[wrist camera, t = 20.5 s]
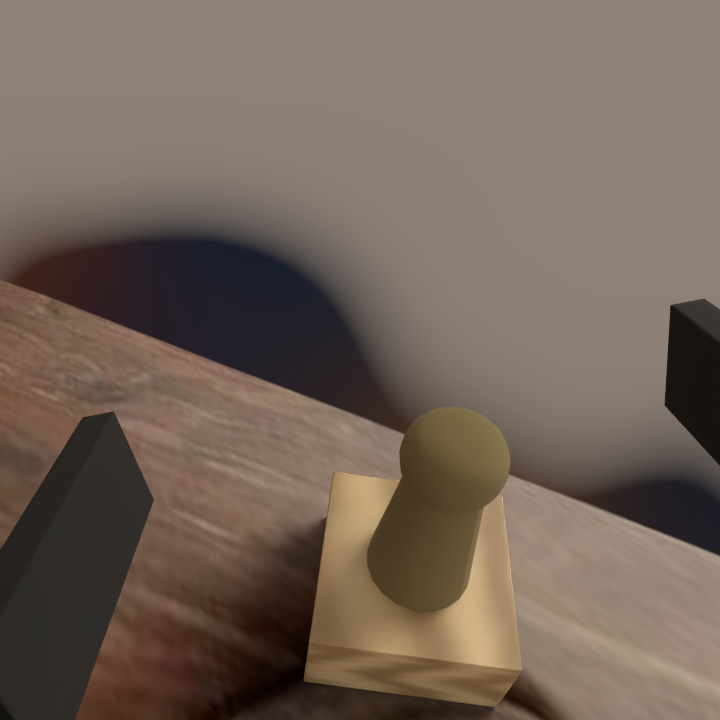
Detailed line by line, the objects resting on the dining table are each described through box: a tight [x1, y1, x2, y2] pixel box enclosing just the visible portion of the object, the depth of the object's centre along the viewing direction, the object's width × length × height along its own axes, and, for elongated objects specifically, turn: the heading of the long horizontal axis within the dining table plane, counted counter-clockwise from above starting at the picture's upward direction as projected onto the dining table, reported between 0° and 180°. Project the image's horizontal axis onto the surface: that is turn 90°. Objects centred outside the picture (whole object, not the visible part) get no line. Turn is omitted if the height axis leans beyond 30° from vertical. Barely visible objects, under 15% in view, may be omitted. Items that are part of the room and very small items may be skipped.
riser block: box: [304, 472, 522, 707], centre depth 37 cm, size 11×11×5 cm
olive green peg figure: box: [367, 407, 510, 612], centre depth 32 cm, size 6×6×11 cm
